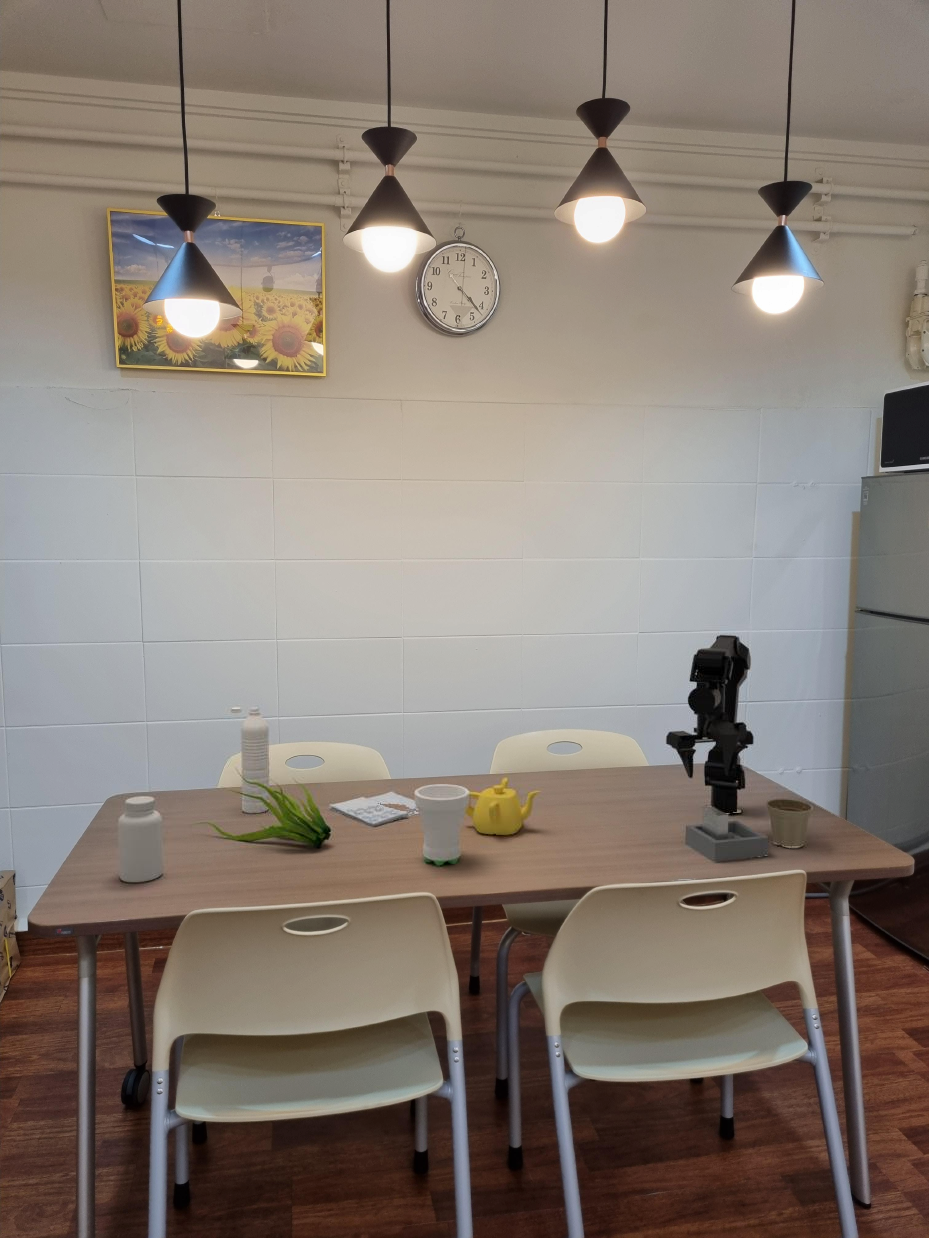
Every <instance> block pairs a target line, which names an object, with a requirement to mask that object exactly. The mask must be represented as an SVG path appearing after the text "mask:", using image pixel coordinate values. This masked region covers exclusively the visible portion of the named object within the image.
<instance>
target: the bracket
mask: <svg viewBox="0 0 929 1238" xmlns="http://www.w3.org/2000/svg"><path fill="white" fill-rule="evenodd" d="M728 822H729V814H726V813H724V812H722V811H720V810H718V809H716V808H714V807H705V806H704V807H702V808H701V824H702V832H703V833H705V834H707V835H708V836H710V837H712V838H714V839H715V840H727V839H737V838H742V837H740V836H739V835H737V834H735V833H733V832H728Z"/></svg>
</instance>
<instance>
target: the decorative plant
mask: <svg viewBox="0 0 929 1238" xmlns="http://www.w3.org/2000/svg"><path fill="white" fill-rule="evenodd" d="M235 770H236V771H237V773H238V775H240V777H241V779H242V778H243V777H242V774H240V773H239V770H238V769H237V767H235ZM243 779H244V778H243ZM292 779H293V780H294V782H295V783H296V784H298V785H299V786H301V787H302V788H303V790H304V792H305V795H306V801H307V804H305V803H304V802H303V801H302V800H301V799H300V798H299V797H296V796H294V795H293V794H292V793H291V796H292V797H294V798H295V799H297V800H299V802H300V804H301V805H302V807H303V811H304V812H305V814H306V815H305V814H304V813H303V812H302V809H301V807H300V805H299V803H298V802H296V801H295V800H294V799H292V798H291V796H289V795H287V794H285V793H284V792H283V789H282V787H281V786H280V785H279V784H278V783H277V782H275V780H272V779H270V778H269V781H272V782H274V783H275V784H276V786H277V787H278V788H279V790H280V791H279V790H273V789H272V788H270V786H269V787H268V786H265V785H263V784H261V783H259V782H249V781H246V780H245V779H244V781H246V782H247V783H249V784H255V785H258V786H260V787H262V788H264V789H265V790H266V791H267V792H268V793H269V794H270V797H272V799H273V800H274V801H275V802H276V804H277V806H278V808H279V809H277V807H276V806H275V805H274V804H272V803H271V802H270V803H269V802H268V801H266V800H265V799H263V798H262V797H258V796H253V795H248V794H244V793H242V791H241V792H240V791H236V790H232V789H230V788H229V789H228V788H225V787H222V786H221V788H222V789H225V790H227V791H231V792H234V793H237V794H240V795H241V796H242V795H245V796H248V797H251V798H255V799H259V800H261V801H262V802H263V803H264V804H265V805H266V806H267V807H268V808H269V810H268V811H270V812H272V814H273V816H274V817H275V818H276V819H277V821H278V823H280V824H270V825H268V827H265V826H264V825H263V824H262V823H261V822H260V821H258V822H259V824H260V825H261V826H262V827H263V828H264V829H260V830H256V831H253V832H248V833H242V834H238V835H233V834H231V833H228V832H225V831H224V830H222V829H221V828H219V826H217V825H216V824H214V823H211V822H210V821H209V822H208V821H206V822H196V823H193V824H191V825H189V827H192V826H194V825H197V824H198V825H199V824H201V825H202V824H207V825H210V826H212V827H213V828H214V829H215V830H216V831H217V832H219V834H221V835H222V836H225V837H227V838H228V839H231V840H234V841H235V840H236V841H245V842H255V841H261V840H265V839H272V838H289V839H292V840H295V841H298V842H302V843H306V844H308V845H309V846H312V847H314V848H316V849H320V848H321V847H322V845H323V843H324V842H325V841H328V840H329V839H330V837H331V835H332V834H331V832H332V830H331V827H330V826H329V825H327V823H326V821H325V820H324V817H323V816H322V815H321V812H320V809H319V807H317V806H316V805H315V803H314V800H313V798H312V796H311V794H310V792H309V791H308V789H307V788H306V786H304V785H303V784H301V783H299V782H297V781H296V780H295V778H294V777H292ZM307 805H308V807H309V809H310V810H309V809H308V807H307ZM307 816H308V817H307ZM309 818H310V819H309Z"/></svg>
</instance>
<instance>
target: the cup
mask: <svg viewBox="0 0 929 1238" xmlns="http://www.w3.org/2000/svg"><path fill="white" fill-rule="evenodd" d="M469 791H470V790H469V789H467V788H466V787H464V786H461V785H456V784H446V783H445V784H443V783H440V784H439V783H437V784H427V785H423V786H421V787H419V788H417V789H415V791H414V801H415V805H416V806H417V808H418V810H419V813H420V814H419V815H420V819H421V822H422V828H423V837H424V838H423V839H424V843H423V846H422V851H423V852H422V853H423V854H422V855H423V859H424V862H425V863H432V862H434V864H435V866H438V867H440V865H441V866H442V865H444V863H446V862H447V863H449V864H451V865H455V864H456V863H457V862H458V860H459V859H460V856H461V853H462V850H461V849H462V847H461V846H462V845H461V843H460V837H461V836H460V834H461V829H462V828H461V827H462V823H463V820H464V816H465V814H466V813H465V811H466V808H467V807H468V805H469V794H470V793H469Z"/></svg>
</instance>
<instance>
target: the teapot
mask: <svg viewBox="0 0 929 1238" xmlns="http://www.w3.org/2000/svg"><path fill="white" fill-rule="evenodd" d="M468 791H469V793H470V794H469V805H468V807H467V808H466V811H465V814H466V815H468V817H470V818H471V819H472V823H473V826H474V828H475V829H476V831H477V832H478V833H480V834H485V835H493V834H496V835H495V836H510V834H511V835H514V834H515V833H517V832H519V830H520V829H521V827H522V826H523V824H524V821H525V820H526V819H528V818H529V816H530V815H531V813H532V809H533V802H534V798H535V796H536V795H537V794H538V793H540V792H541V790H533V791H531V792H529V793H528V795H527V798H526V803H525V806H523V807H522V804H521V801H520V799H519V796H518V794H517V791H516V790H515V789H512V788H508V777H504V778H502V780H501V784H495V785H493V786H492V787H489V788H484V789H483V790H482V791H481V792H478V791H470V790H468ZM472 799H477V801H476V803H475V806H474V807H473V806H471V802H472Z"/></svg>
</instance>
